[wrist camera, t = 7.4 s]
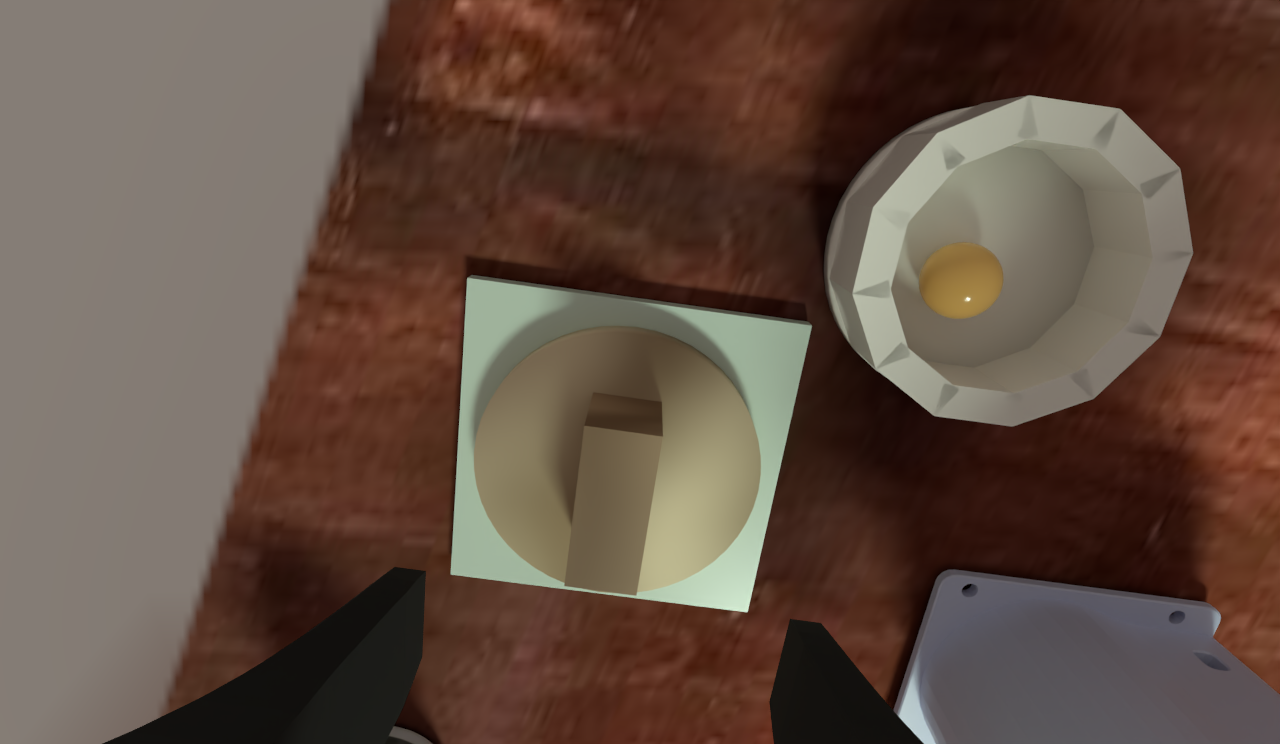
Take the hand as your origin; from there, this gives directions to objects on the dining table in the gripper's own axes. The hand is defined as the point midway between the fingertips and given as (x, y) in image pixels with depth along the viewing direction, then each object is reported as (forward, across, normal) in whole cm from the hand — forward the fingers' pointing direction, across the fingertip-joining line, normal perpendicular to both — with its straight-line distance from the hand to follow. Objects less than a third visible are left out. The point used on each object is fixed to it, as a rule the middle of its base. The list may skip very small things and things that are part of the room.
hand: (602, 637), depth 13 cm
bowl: (+8, -9, -8) cm, 14 cm away
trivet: (+8, 0, 0) cm, 9 cm away
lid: (+8, 0, 0) cm, 8 cm away
